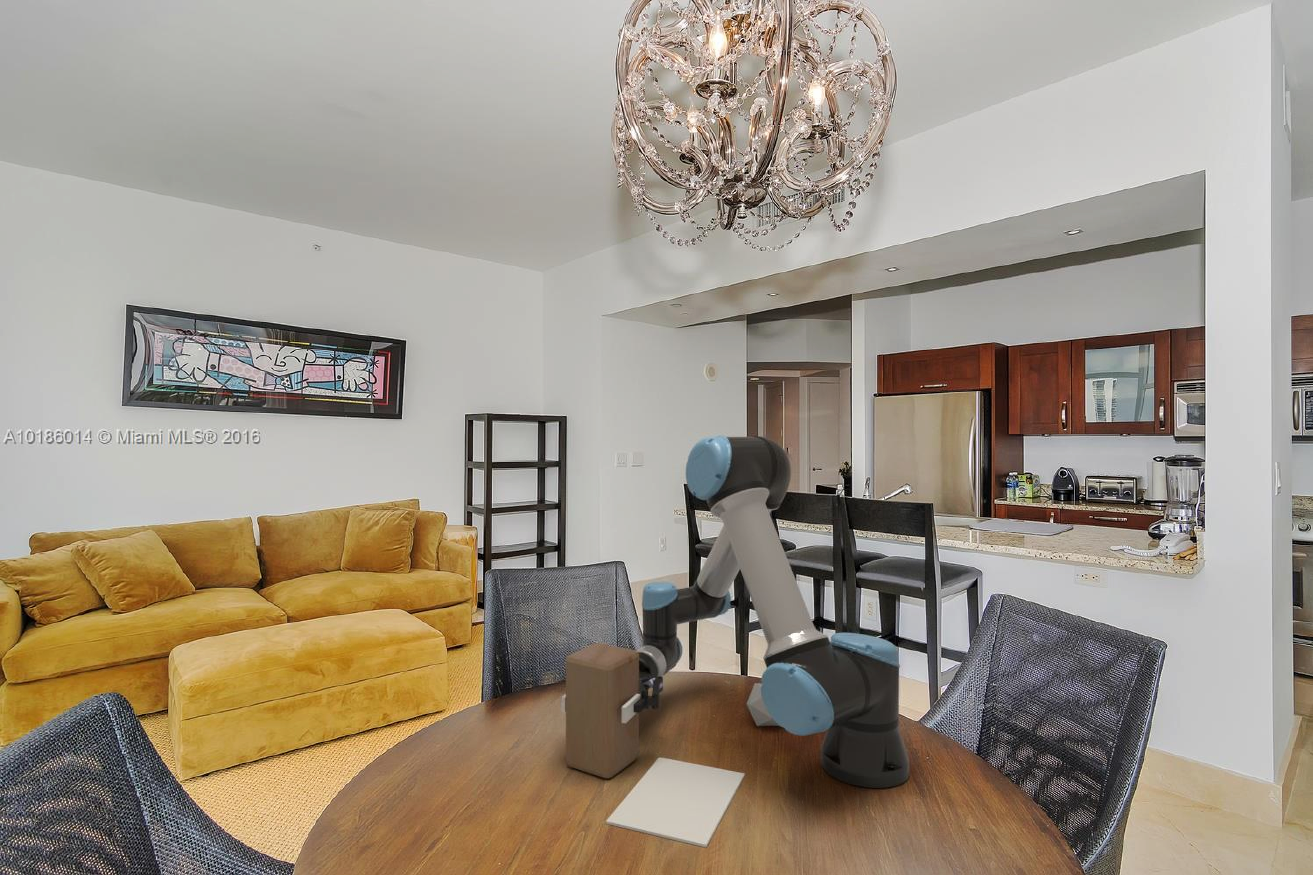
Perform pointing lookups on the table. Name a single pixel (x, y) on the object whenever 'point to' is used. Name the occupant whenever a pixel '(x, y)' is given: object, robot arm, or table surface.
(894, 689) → the robot arm
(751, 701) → the die
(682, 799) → the white mat
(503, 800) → the table surface
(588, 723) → the wooden block
